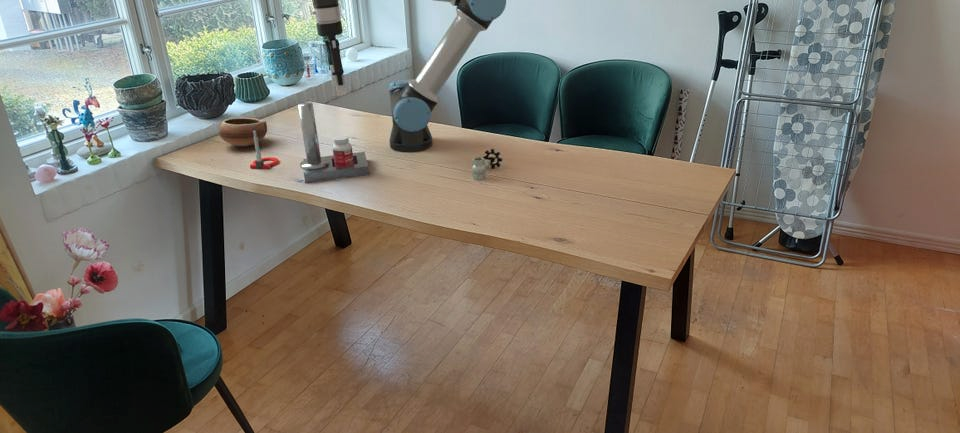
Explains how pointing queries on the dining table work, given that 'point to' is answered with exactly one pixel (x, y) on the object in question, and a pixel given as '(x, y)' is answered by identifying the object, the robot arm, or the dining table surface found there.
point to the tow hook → (259, 162)
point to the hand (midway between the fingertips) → (339, 90)
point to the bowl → (242, 131)
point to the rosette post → (324, 166)
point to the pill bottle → (342, 151)
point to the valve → (484, 164)
